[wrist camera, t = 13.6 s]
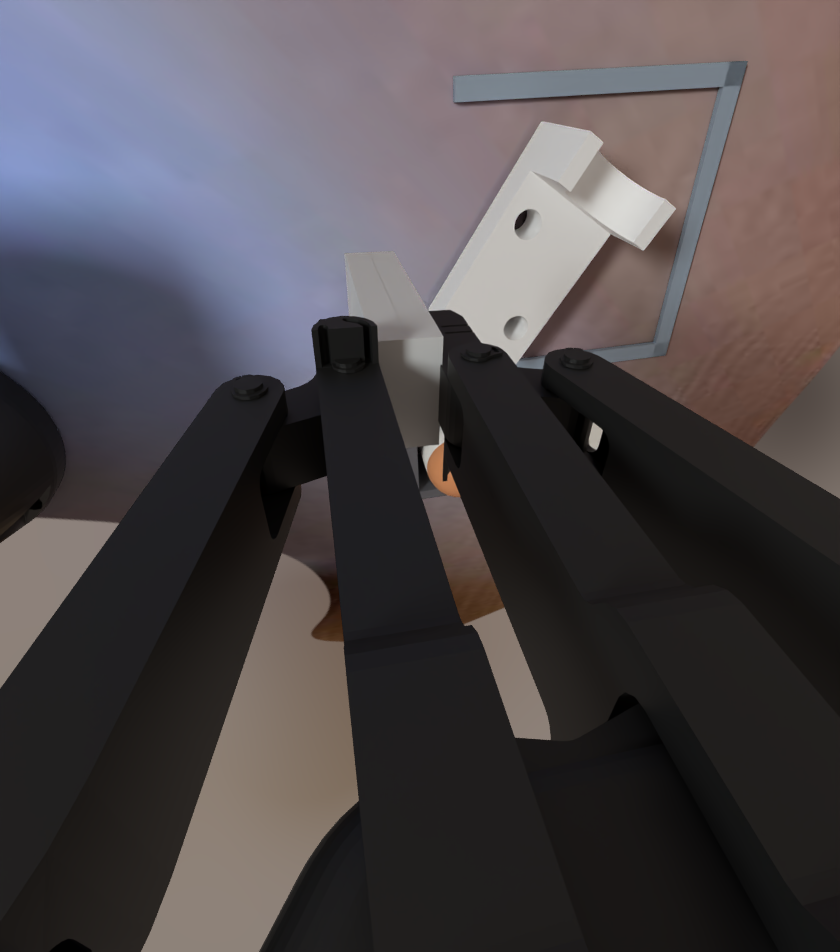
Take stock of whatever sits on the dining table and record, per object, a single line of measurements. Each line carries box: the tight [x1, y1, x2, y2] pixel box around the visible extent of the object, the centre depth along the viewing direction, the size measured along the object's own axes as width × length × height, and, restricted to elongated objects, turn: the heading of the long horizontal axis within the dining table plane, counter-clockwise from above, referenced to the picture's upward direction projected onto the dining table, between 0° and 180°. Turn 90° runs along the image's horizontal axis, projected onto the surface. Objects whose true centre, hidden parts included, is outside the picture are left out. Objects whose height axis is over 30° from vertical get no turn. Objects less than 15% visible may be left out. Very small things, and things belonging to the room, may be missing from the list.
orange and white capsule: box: [419, 426, 460, 497], centre depth 40 cm, size 5×5×8 cm
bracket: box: [428, 121, 676, 364], centre depth 33 cm, size 13×7×8 cm, turn 148°
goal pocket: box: [453, 61, 748, 369], centre depth 37 cm, size 18×19×1 cm
